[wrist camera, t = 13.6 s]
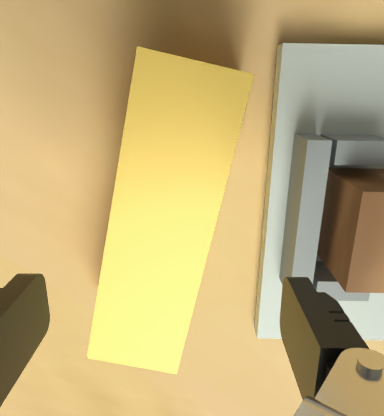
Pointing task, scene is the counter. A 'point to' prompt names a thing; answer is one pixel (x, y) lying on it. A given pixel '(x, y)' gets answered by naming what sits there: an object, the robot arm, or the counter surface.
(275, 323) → the jig
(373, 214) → the brown rectangular bar
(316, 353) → the robot arm
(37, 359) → the counter surface
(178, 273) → the yellow rectangular block
